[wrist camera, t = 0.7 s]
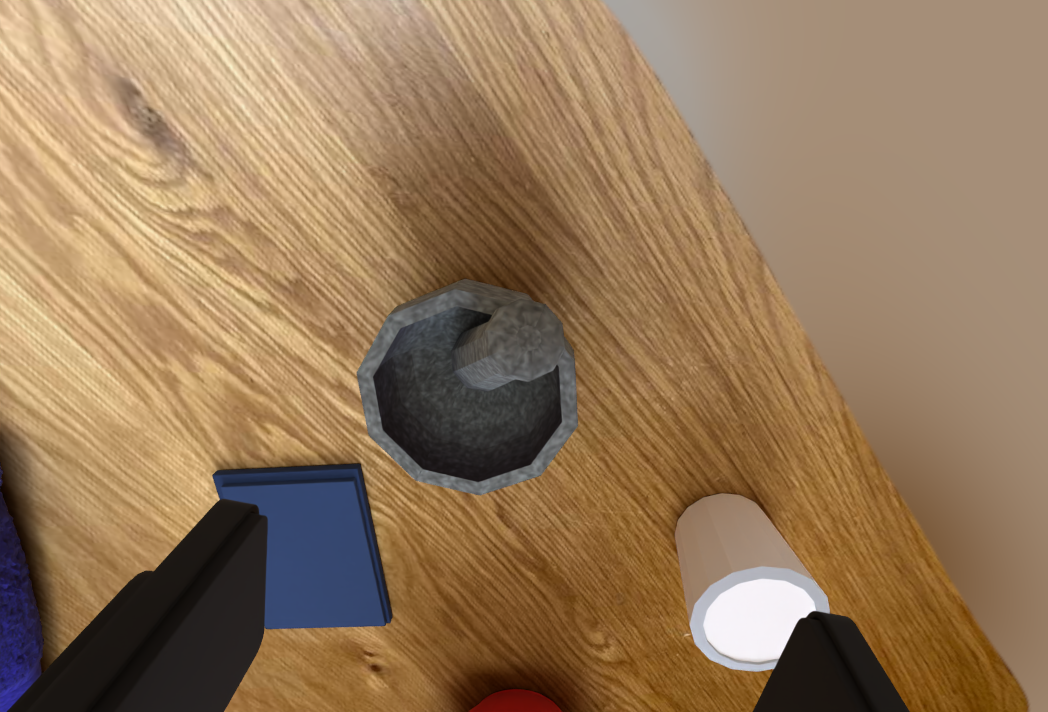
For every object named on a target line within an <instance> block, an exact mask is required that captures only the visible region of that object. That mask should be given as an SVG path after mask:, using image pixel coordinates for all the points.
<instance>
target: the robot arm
mask: <svg viewBox="0 0 1048 712" xmlns="http://www.w3.org/2000/svg"><path fill="white" fill-rule="evenodd" d="M267 535H268V518H267V516H265V515H260V514H259V508H258V506H257V505H255V504H250V503H245V502H239V501H234V500H229V499H221V500H219V501H218V502H217V503H216V504H215V505H214V506H213V507H212V508H211V509H210V510H209V511H208V512H207V514H206V515H205V516H204V517H203V518H202V519H201V520H200V521H199V522H198V523H197V525H196V526H195V527H194V528H193V529H192V530H191V531H190V532H189V533H188V534H187V535H186V537H185V538H184V539H183V540H182V541H181V542H180V543H179V544H178V545H177V546H176V548H175V549H174V550H173V551H172V552H171V553H170V554H169V555H168V556H167V557H166V559H165V560H164V561H163V562H162V563H161V564H160V565H159V566H158V567H157V568H156V570H155V571H144V572H142V573H139V574H138V575H136V576H135V577H134V578H133V579H132V580H131V581H130V582H129V583H128V584H127V585H126V586H125V587H124V588H123V589H122V590H121V591H120V592H119V593H118V594H117V595H116V596H115V597H114V598H113V599H112V600H111V602H110V603H109V604H108V605H107V606H106V607H105V608H104V609H103V610H102V611H101V612H100V613H99V614H98V615H97V616H96V617H95V618H94V620H93V621H92V622H91V623H90V624H89V625H88V626H87V627H86V628H85V629H84V630H83V631H82V632H81V633H80V634H79V635H78V636H77V638H76V639H75V640H74V641H73V642H72V643H71V644H70V645H69V646H68V647H67V648H66V649H65V650H64V651H63V652H62V653H61V654H60V656H59V657H58V658H57V659H56V660H55V661H54V662H53V663H52V664H51V665H50V666H49V667H48V668H47V669H46V670H45V671H44V672H43V674H42V675H41V676H40V677H39V678H38V679H37V680H36V681H35V682H34V683H33V684H32V685H31V686H30V687H29V688H28V689H27V690H26V691H25V693H24V694H23V695H22V696H21V697H20V698H19V699H18V700H17V701H16V702H15V703H14V704H13V705H12V706H11V707H10V708H9V709H8V711H7V712H224V711H225V709H226V707H227V705H228V704H229V702H230V700H231V698H232V697H233V695H234V693H235V691H236V689H237V688H238V686H239V684H240V682H241V681H242V679H243V677H244V675H245V674H246V672H247V670H248V668H249V667H250V665H251V663H252V661H253V660H254V658H255V656H256V654H257V652H258V650H259V648H260V645H261V642H262V639H263V635H264V621H265V593H266V564H267ZM753 712H910V711H909V710H908V708H907V707H906V705H905V703H904V702H903V700H902V699H901V697H900V695H899V694H898V692H897V690H896V689H895V687H894V686H893V684H892V682H891V681H890V679H889V678H888V676H887V674H886V673H885V671H884V669H883V668H882V666H881V665H880V663H879V661H878V660H877V658H876V657H875V655H874V653H873V652H872V650H871V648H870V647H869V645H868V644H867V642H866V640H865V639H864V637H863V636H862V634H861V632H860V631H859V629H858V627H857V626H856V624H855V623H854V622H853V621H852V619H850V618H848V617H846V616H840V615H835V614H830V613H825V612H819V611H812V612H811V613H809V614H808V616H807V617H806V618H801V619H799V620H798V622H797V624H796V626H795V628H794V630H793V632H792V634H791V636H790V638H789V640H788V642H787V644H786V646H785V648H784V650H783V652H782V654H781V656H780V658H779V660H778V662H777V664H776V666H775V668H774V670H773V672H772V674H771V676H770V678H769V680H768V682H767V684H766V686H765V688H764V690H763V692H762V694H761V696H760V698H759V700H758V702H757V704H756V706H755V708H754V710H753Z"/></svg>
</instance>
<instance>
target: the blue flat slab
mask: <svg viewBox="0 0 1048 712" xmlns="http://www.w3.org/2000/svg"><path fill="white" fill-rule="evenodd" d="M212 476H213V479H214V483H215V486H216V489H217V492H218V495H219V498H220V500H221V499H229V500H234V501H239V502H245V503H250V504H255V505H257V506H258V508H259V514H260V515H265V516H267V518H268V535H267V564H266V593H265V621H264V626H265V628H266V629H287V628H325V627H364V626H385V625H386V623H390V622H391V619H392V612H391V607H390V603H389V598H388V593H387V589H386V584H385V579H384V574H383V570H382V565H381V560H380V555H379V551H378V546H377V541H376V536H375V532H374V527H373V522H372V517H371V513H370V508H369V503H368V499H367V494H366V489H365V484H364V480H363V475H362V470H361V465H360V464H344V465H322V466H301V467H279V468H258V469H236V470H218V471H216V472H215V473H214V474H213V475H212Z"/></svg>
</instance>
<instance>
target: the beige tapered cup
mask: <svg viewBox="0 0 1048 712" xmlns="http://www.w3.org/2000/svg"><path fill="white" fill-rule="evenodd" d="M675 540H676V546H677V552H678V558H679V564H680V570H681V576H682V582H683V588H684V594H685V600H686V606H687V612H688V618H689V624H690V628H691V631H692V635H693V638H694V642H695V644H696V645H697V646H698V648H699V649H700V650H701V651H702V652H703V653H704V654H705V655H706V656H707V657H708V658H709V659H710V660H712V661H715V662H717V663H719V664H721V665H724V666H726V667H728V668H731V669H737V670H747V671H757V672H758V671H763V670H769V669H774V668H775V666H776V664H777V662H778V660H779V658H780V656H781V654H782V652H783V650H784V648H785V646H786V644H787V642H788V640H789V638H790V636H791V634H792V632H793V630H794V628H795V626H796V624H797V622H798V620H799V619H801V618H806V617H807V616H808V614H809V613H811V612H812V611H819V612H825V613H830V610H829V604H828V598H827V596H826V595H825V593H824V592H823V591H822V589H821V588H820V587H819V585H818V584H817V583H816V581H815V580H814V579H813V577H812V576H811V575H810V573H809V572H808V571H807V569H806V568H805V567H804V565H803V564H802V563H801V561H800V560H799V559H798V557H797V556H796V555H795V553H794V552H793V551H792V549H791V548H790V546H789V545H788V544H787V542H786V541H785V540H784V538H783V537H782V536H781V534H780V533H779V532H778V530H777V529H776V528H775V526H774V525H773V524H772V522H771V521H770V520H769V518H768V517H767V516H766V514H765V513H764V512H763V511H762V510H761V508H760V507H759V506H758V505H757V504H756V502H754V501H752V500H749V499H747V498H745V497H743V496H741V495H735V494H725V493H720V494H716V495H712V496H708V497H703V498H702V499H700V500H698V501H697V502H695V503H694V504H692V505H690V506H689V507H687V509H686V510H685V511H684V513H683V514H682V515H681V517H680V518H679V519H678V522H677V526H676V531H675Z"/></svg>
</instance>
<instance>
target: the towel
mask: <svg viewBox="0 0 1048 712" xmlns="http://www.w3.org/2000/svg"><path fill="white" fill-rule="evenodd" d="M2 474H3V470H2V469H1V463H0V487H1V485H2V479H1V477H2V476H1V475H2ZM7 510H8V508H7V506H6V504H5V501H4V499H3V496H2V493H1V491H0V712H7V711H8V709H9V708H10V707H11V706H12V705H13V704H14V703H15V702H16V701H17V700H18V699H19V698H20V697H21V696H22V695H23V694H24V693H25V691H26V690H27V689H28V688H29V687H30V686H31V685H32V684H33V683H34V682H35V681H36V680H37V679H38V678H39V677H40V676H41V675H42V671H41V664H40V659H41V658H42V656H43V653H42V652H43V644H44V643H43V641H44V639H43V636H42V625H41V621H40V616H39V612H38V608H37V606H36V600H35V599H36V598H35V597H34V592H33V591H32V590H33V588H32V586H31V583H32V581H31V580H30V577H28V574H29V573H30V571H29V569H28V564H27V563H26V558H25V553H24V551H23V550H22V547H21V545H20V541H21V540H20V539H19V537H18V536H17V530H16V527H15V525H14V523H13V517H11V516H10V514H9V512H8V511H7Z"/></svg>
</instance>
